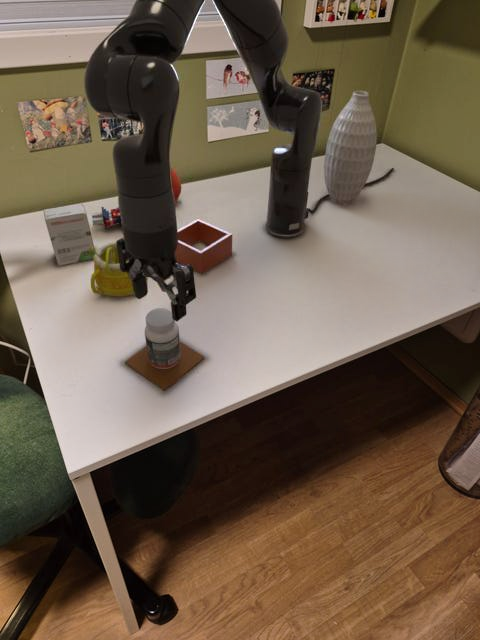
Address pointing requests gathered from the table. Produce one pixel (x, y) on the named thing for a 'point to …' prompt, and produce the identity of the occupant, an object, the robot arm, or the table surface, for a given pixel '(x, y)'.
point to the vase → (350, 149)
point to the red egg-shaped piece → (175, 184)
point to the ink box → (69, 234)
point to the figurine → (107, 217)
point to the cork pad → (165, 376)
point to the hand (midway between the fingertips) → (159, 306)
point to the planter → (208, 235)
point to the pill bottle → (162, 339)
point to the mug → (110, 273)
